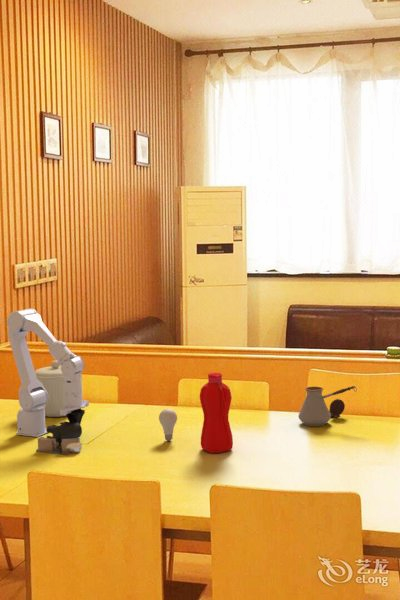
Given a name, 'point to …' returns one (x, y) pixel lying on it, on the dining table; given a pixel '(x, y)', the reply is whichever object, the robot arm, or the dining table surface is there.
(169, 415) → the lightbulb
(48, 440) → the shaft rig
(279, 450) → the dining table surface
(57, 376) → the canister
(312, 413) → the coffee pot
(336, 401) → the compass
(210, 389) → the water bottle
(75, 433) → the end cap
